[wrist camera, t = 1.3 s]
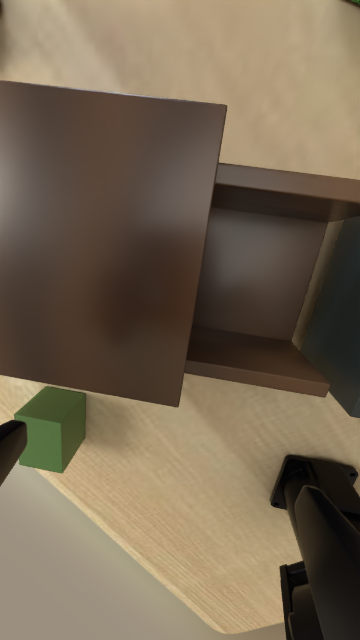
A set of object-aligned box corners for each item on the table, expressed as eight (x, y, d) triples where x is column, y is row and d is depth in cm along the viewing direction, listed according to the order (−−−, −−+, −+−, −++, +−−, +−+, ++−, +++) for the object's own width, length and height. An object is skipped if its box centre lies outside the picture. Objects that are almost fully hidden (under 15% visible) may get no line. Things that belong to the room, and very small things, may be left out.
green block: (85, 438, 24) (62, 474, 20) (48, 430, 24) (19, 465, 20) (85, 393, 22) (60, 423, 18) (45, 386, 22) (13, 414, 19)
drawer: (446, 214, 14) (646, 187, 8) (376, 369, 18) (474, 439, 11) (164, 178, 15) (135, 127, 9) (149, 331, 19) (120, 376, 12)
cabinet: (215, 178, 16) (227, 104, 8) (189, 340, 19) (178, 408, 11) (19, 153, 16) (-162, 61, 8) (30, 314, 20) (-87, 359, 12)
